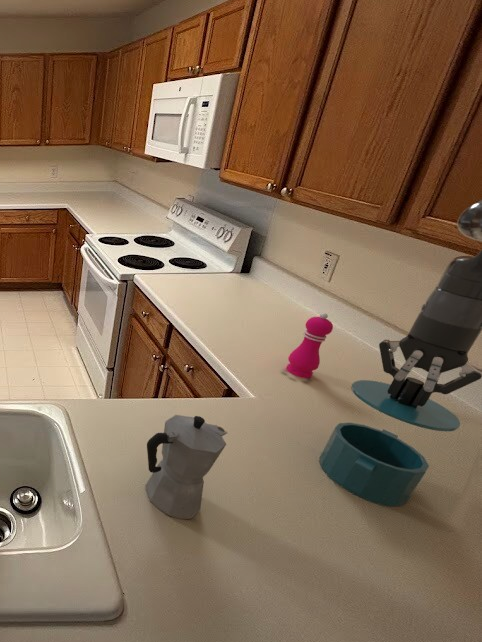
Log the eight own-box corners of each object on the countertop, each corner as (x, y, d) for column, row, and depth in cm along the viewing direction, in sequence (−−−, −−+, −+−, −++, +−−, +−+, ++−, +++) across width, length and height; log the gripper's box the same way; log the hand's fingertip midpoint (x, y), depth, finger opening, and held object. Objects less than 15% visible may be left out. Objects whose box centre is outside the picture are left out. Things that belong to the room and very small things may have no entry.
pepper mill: (318, 378, 120) (347, 317, 113) (302, 382, 118) (331, 319, 110) (293, 366, 127) (318, 306, 119) (277, 369, 124) (303, 308, 116)
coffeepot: (183, 473, 80) (210, 397, 74) (221, 514, 72) (255, 432, 65) (114, 484, 76) (137, 405, 70) (146, 529, 68) (174, 444, 61)
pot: (417, 482, 84) (438, 450, 80) (392, 525, 73) (415, 489, 70) (335, 441, 94) (351, 411, 90) (304, 473, 83) (320, 440, 80)
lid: (463, 417, 76) (481, 390, 74) (448, 445, 68) (467, 415, 65) (362, 378, 87) (375, 353, 85) (338, 397, 79) (352, 370, 76)
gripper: (516, 330, 67) (460, 416, 74) (402, 300, 77) (362, 377, 84) (511, 339, 63) (452, 429, 69) (392, 306, 73) (350, 387, 80)
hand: (403, 400), depth 77 cm, fingers closed on lid, 2 cm apart
